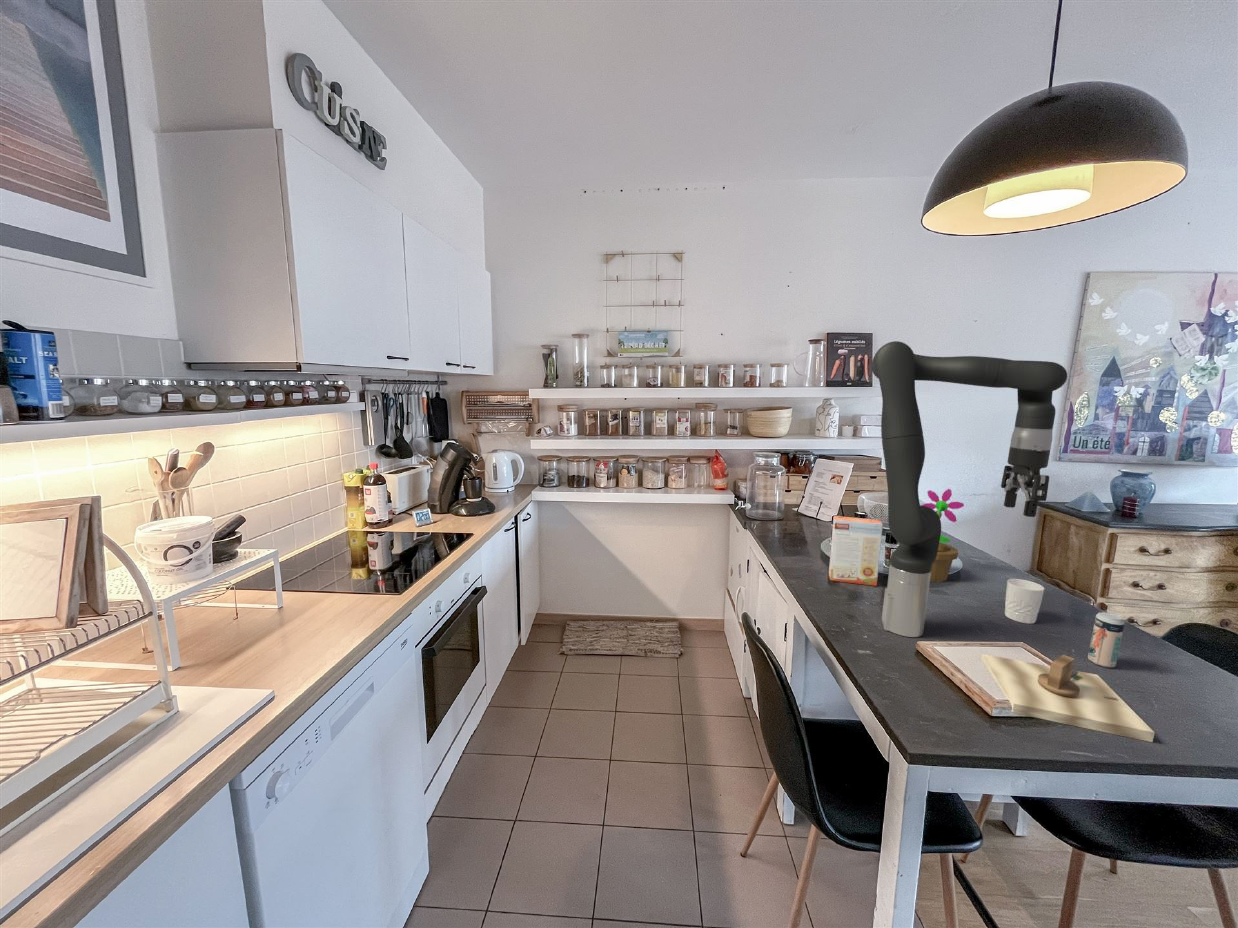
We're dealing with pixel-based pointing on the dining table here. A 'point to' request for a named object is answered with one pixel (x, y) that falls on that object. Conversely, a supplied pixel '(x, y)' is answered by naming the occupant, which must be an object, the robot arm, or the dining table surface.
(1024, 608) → the white cup
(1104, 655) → the beer can
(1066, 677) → the tuning knob
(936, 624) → the dining table surface
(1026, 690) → the dial board
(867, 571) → the cracker box
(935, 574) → the flowerpot
